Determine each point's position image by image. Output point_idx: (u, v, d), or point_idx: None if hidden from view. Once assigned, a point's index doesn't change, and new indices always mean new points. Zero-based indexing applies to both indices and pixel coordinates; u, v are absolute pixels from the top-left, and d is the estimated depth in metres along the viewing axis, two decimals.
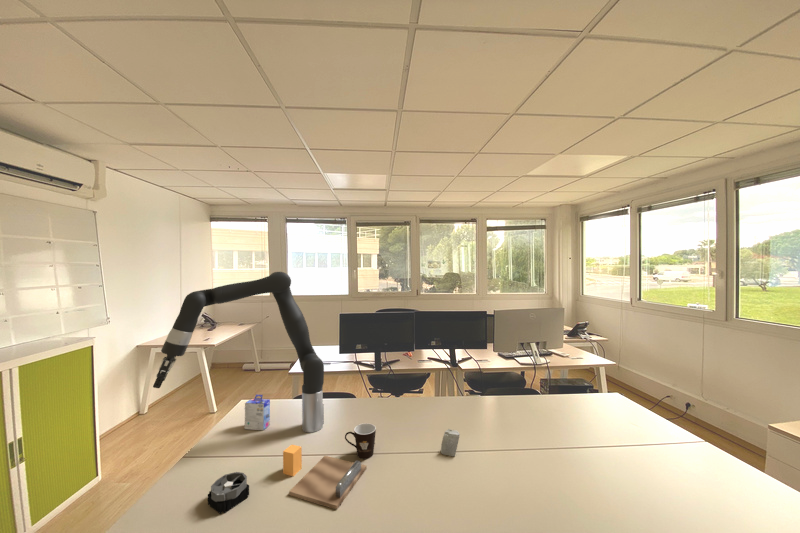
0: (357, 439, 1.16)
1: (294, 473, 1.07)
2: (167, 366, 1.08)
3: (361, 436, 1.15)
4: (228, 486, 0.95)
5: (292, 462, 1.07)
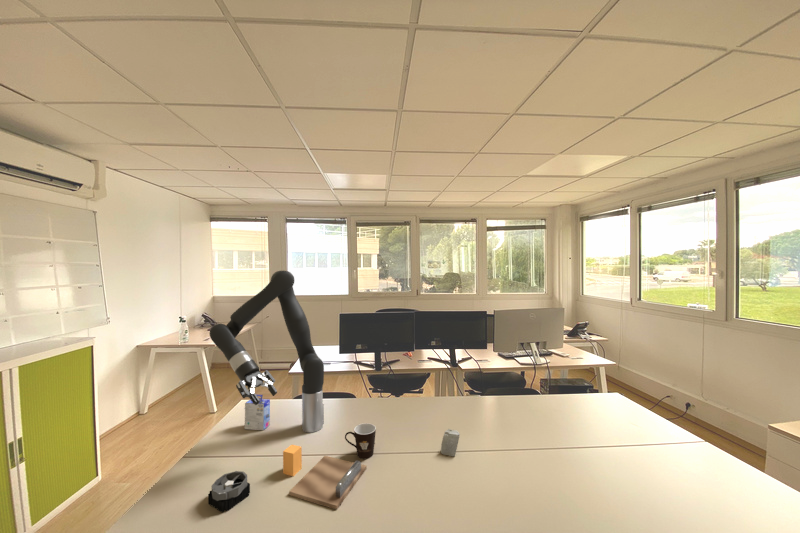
0: (357, 439, 1.16)
1: (294, 473, 1.07)
2: (240, 386, 1.09)
3: (361, 436, 1.15)
4: (229, 485, 0.96)
5: (292, 462, 1.07)
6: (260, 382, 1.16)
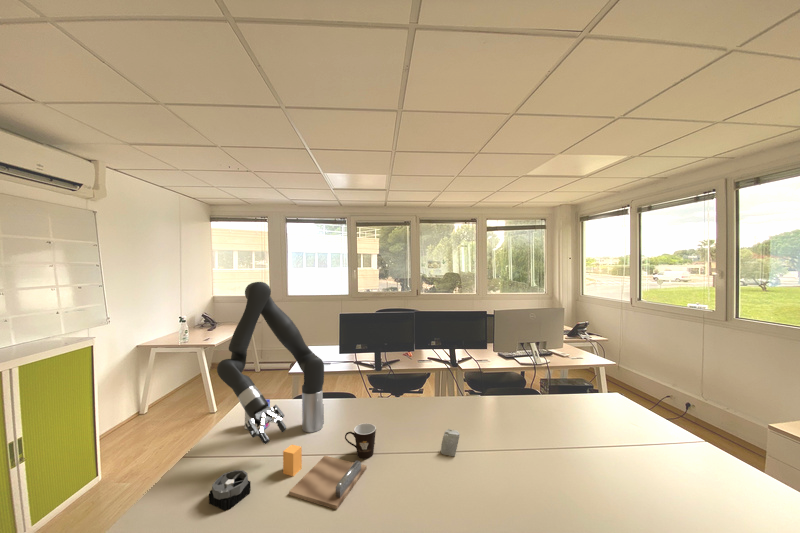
0: (357, 439, 1.16)
1: (294, 473, 1.07)
2: (250, 425, 1.08)
3: (361, 436, 1.15)
4: (230, 484, 0.96)
5: (292, 462, 1.07)
6: (269, 419, 1.14)
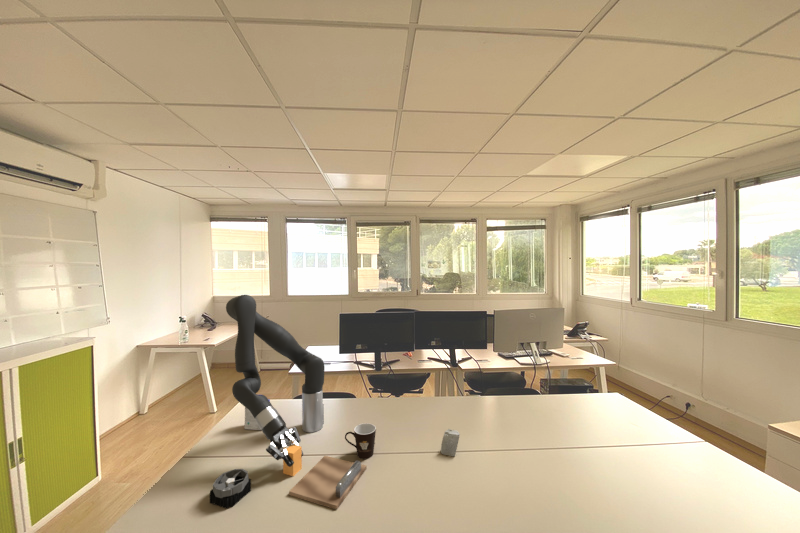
0: (357, 439, 1.16)
1: (294, 473, 1.07)
2: (272, 450, 1.05)
3: (361, 436, 1.15)
4: (231, 482, 0.97)
5: None
6: (286, 440, 1.11)
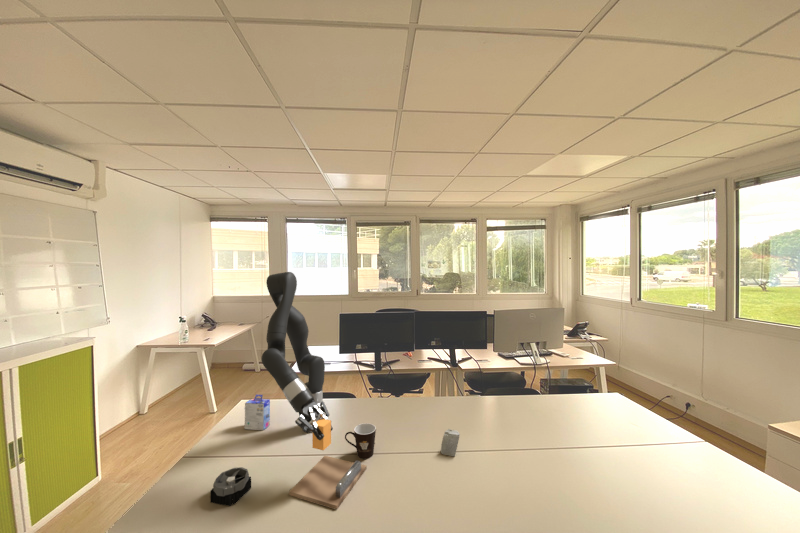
0: (357, 439, 1.16)
1: (324, 447, 1.02)
2: (301, 422, 1.00)
3: (361, 436, 1.15)
4: (231, 480, 0.98)
5: None
6: (315, 414, 1.06)
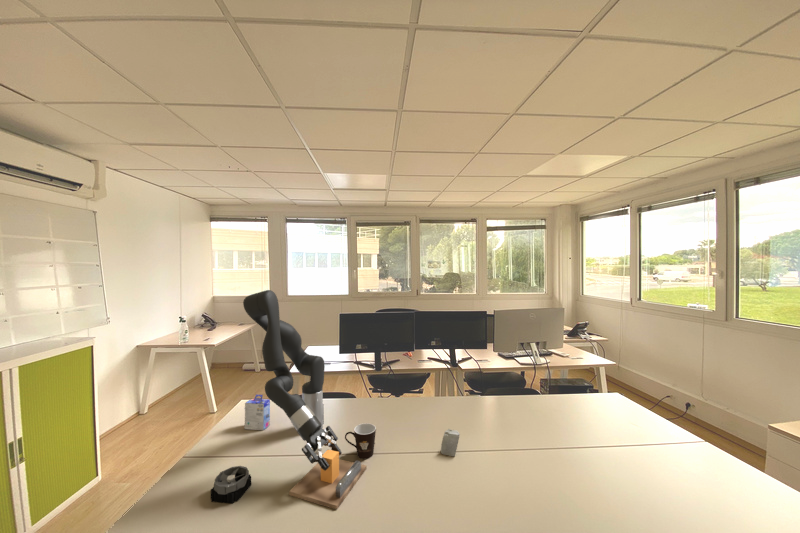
0: (357, 439, 1.16)
1: (333, 479, 1.02)
2: (307, 451, 0.99)
3: (361, 436, 1.15)
4: (232, 479, 0.99)
5: (330, 469, 1.01)
6: (324, 442, 1.05)
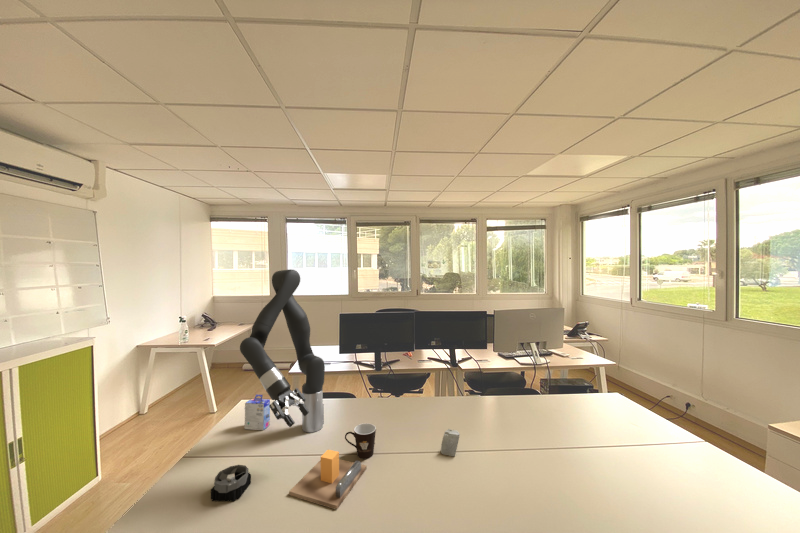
0: (357, 439, 1.16)
1: (333, 479, 1.02)
2: (274, 407, 1.04)
3: (361, 436, 1.15)
4: (232, 477, 0.99)
5: (330, 469, 1.01)
6: (292, 401, 1.10)
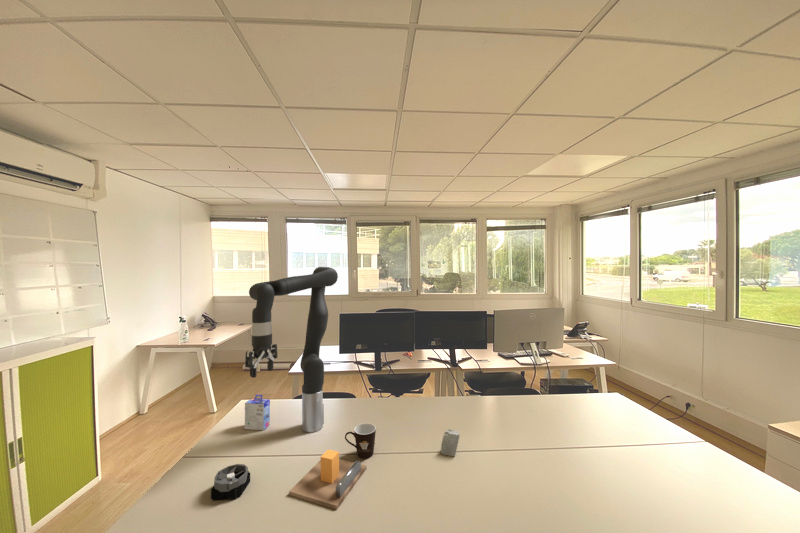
0: (357, 439, 1.16)
1: (333, 479, 1.02)
2: (249, 357, 1.13)
3: (361, 436, 1.15)
4: (232, 476, 1.00)
5: (330, 469, 1.01)
6: (265, 356, 1.20)
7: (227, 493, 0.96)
